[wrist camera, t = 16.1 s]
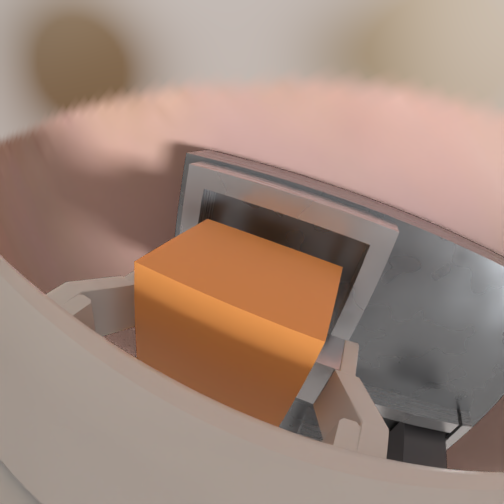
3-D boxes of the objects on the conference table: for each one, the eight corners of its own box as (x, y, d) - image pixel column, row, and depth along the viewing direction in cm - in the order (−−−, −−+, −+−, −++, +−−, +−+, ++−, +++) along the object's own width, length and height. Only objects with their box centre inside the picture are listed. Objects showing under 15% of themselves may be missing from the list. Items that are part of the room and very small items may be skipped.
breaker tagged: (444, 425, 12) (445, 512, 7) (416, 450, 14) (409, 529, 9) (404, 416, 13) (397, 509, 8) (378, 442, 14) (364, 525, 9)
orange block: (342, 267, 10) (325, 341, 6) (298, 368, 12) (267, 444, 8) (207, 218, 11) (134, 261, 7) (192, 323, 13) (138, 380, 10)
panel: (552, 284, 10) (578, 315, 7) (378, 481, 19) (373, 509, 17) (208, 149, 14) (170, 155, 11) (176, 409, 24) (158, 433, 21)
